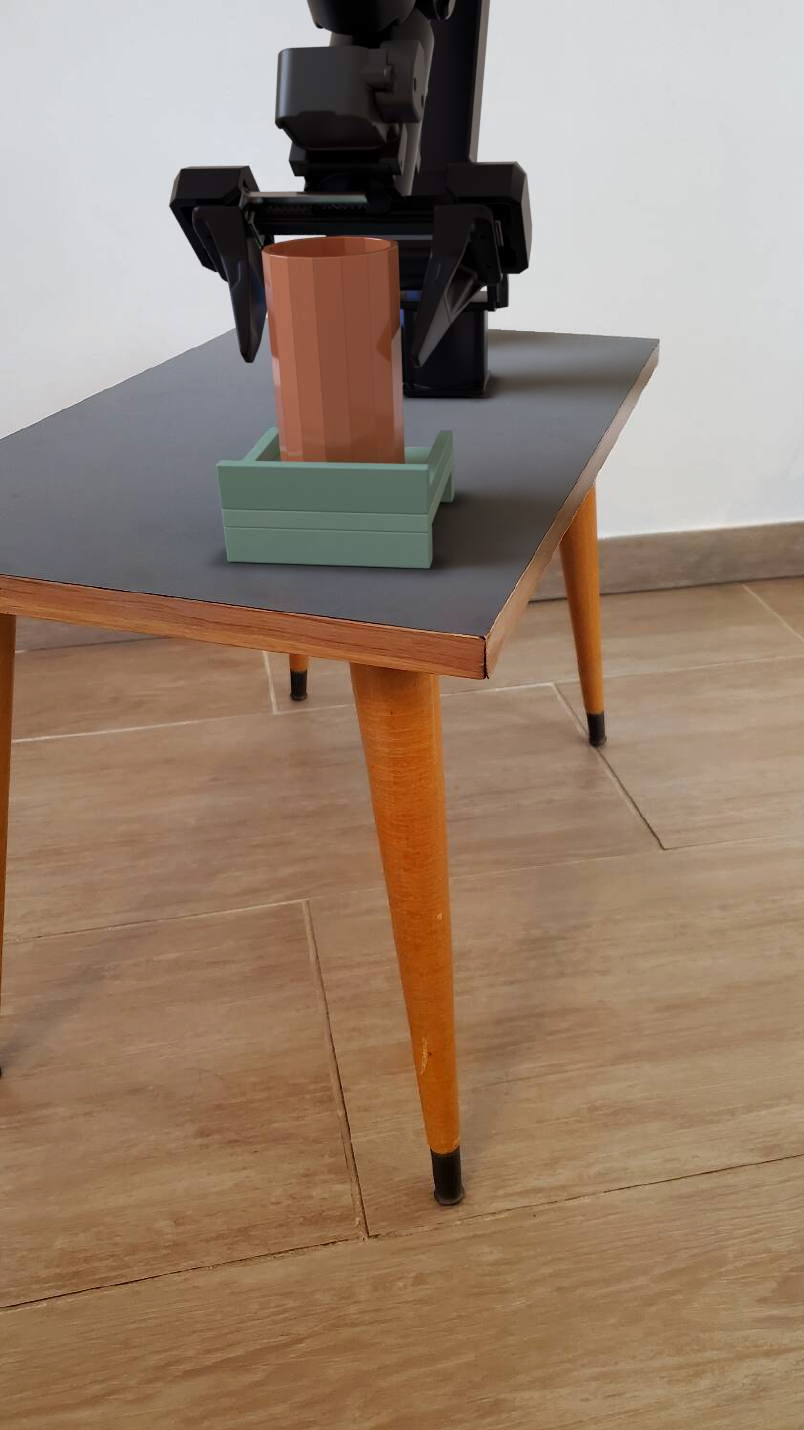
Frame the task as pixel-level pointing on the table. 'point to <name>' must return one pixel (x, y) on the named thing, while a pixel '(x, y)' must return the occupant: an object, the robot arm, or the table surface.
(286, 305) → the cup
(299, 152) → the robot arm
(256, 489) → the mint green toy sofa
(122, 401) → the table surface
